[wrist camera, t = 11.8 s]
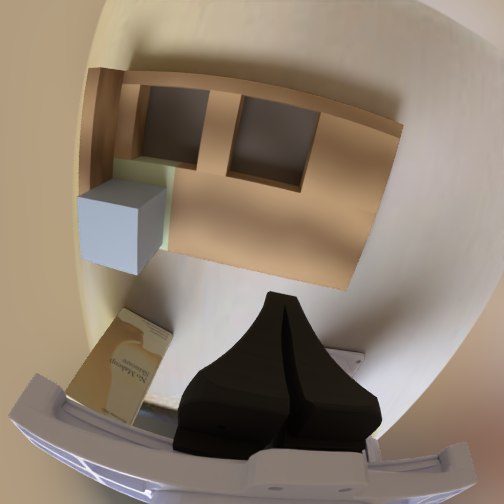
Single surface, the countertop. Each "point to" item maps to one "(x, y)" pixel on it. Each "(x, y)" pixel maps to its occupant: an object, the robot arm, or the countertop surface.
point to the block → (121, 224)
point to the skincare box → (121, 367)
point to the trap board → (243, 167)
